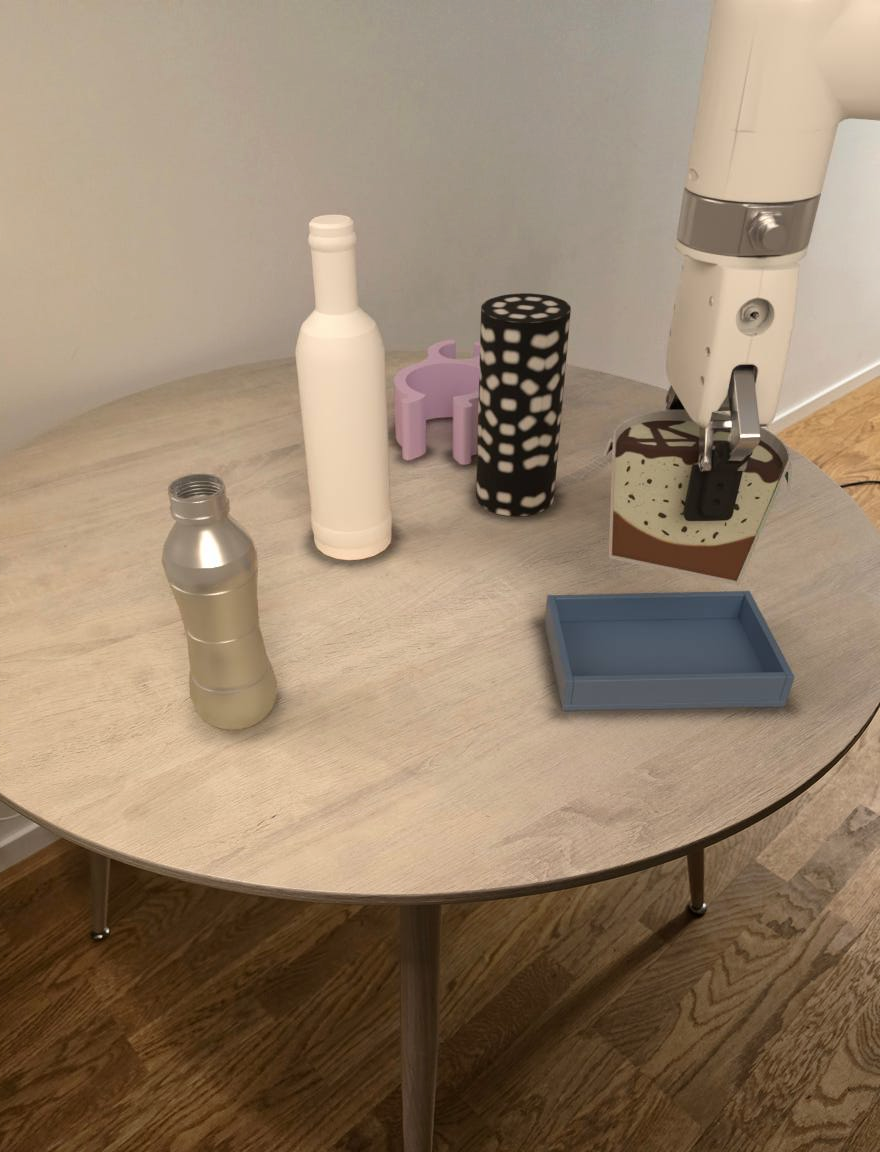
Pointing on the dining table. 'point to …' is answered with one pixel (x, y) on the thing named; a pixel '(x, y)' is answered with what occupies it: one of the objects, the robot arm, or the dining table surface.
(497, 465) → the white-spotted black cylinder
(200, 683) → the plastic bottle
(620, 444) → the food container
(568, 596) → the tray
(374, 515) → the bottle
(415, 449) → the clip
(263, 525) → the dining table surface
